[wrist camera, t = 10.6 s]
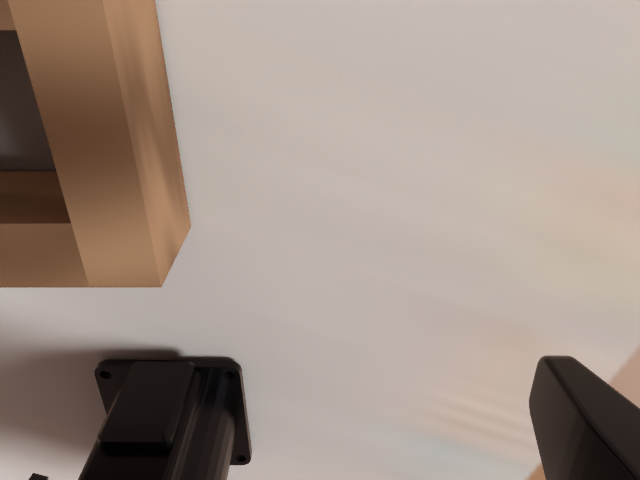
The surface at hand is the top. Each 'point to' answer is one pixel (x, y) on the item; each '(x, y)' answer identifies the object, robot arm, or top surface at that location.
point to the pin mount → (94, 150)
